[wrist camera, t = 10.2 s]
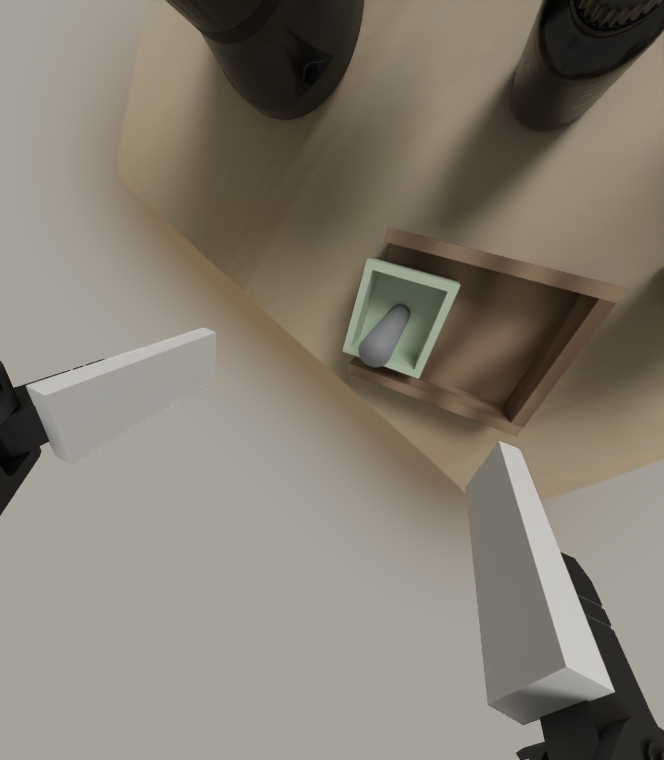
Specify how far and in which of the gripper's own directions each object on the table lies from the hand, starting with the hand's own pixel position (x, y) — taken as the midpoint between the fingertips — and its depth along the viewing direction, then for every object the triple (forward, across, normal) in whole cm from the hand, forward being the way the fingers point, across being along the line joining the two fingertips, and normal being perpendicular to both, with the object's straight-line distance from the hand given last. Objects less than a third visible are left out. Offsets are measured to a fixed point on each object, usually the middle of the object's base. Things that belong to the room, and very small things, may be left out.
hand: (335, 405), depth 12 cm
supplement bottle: (+25, +6, +20) cm, 33 cm away
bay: (+24, +7, 0) cm, 25 cm away
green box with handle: (+23, 0, 0) cm, 23 cm away
